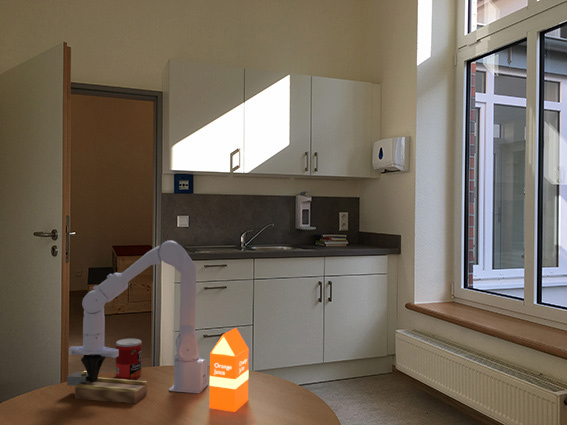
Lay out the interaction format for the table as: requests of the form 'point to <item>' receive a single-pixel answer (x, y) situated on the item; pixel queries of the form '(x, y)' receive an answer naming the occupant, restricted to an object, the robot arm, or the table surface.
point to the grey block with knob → (78, 378)
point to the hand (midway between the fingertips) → (93, 380)
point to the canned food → (128, 359)
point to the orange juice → (229, 372)
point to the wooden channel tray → (112, 390)
